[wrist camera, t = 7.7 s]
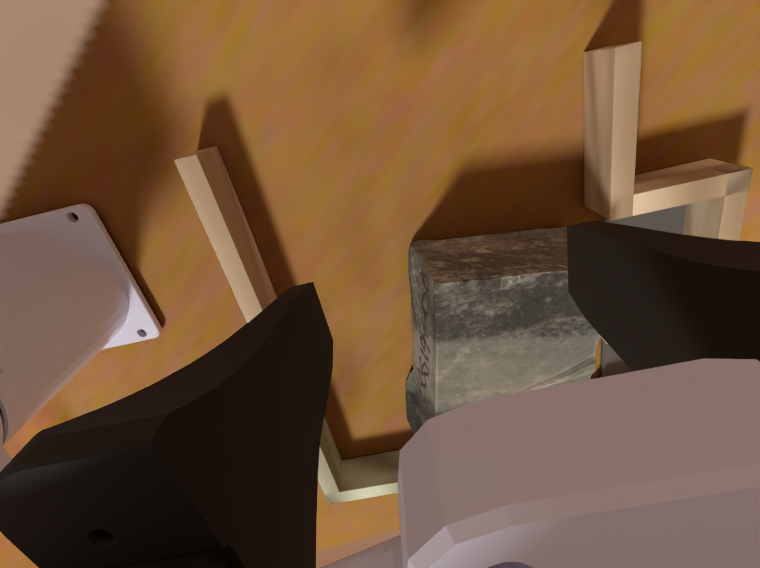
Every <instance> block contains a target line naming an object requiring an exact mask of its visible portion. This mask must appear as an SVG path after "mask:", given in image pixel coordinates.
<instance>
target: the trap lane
mask: <svg viewBox="0 0 760 568" xmlns="http://www.w3.org/2000/svg"><path fill="white" fill-rule="evenodd" d="M641 51H642V41H638V42H632V43H625V44H618V45H612V46H606V47H602V48H598V49H594V50H590V51H586V52H584V206H586V207H587V208H589V209H591V210H592V211H594V212H596V213H597V214H599V215H601V216H603V217H604V218H606V219H608V220H609V221H612V220H616V219H621V218H626V217H630V216H635V215H639V214H644V213H649V212H653V211H658V210H662V209H667V208H671V207H676V206H681V205H685V204H686V212H685V220H684V229H683V234H684V235H691V236H699V237H707V238H715V239H725V240H736V241H739V240H740V235H741V229H742V224H743V219H744V213H745V208H746V202H747V197H748V191H749V186H750V181H751V175H752V170H753V168H750V167H745V166H741V165H736V164H732V163H728V162H723V161H719V160H715V159H710V158H709V159H704V160H700V161H695V162H691V163H687V164H682V165H678V166H673V167H669V168H665V169H660V170H656V171H651V172H647V173H642V174H638V175H635V162H636V143H637V125H638V106H639V88H640V70H641ZM174 161H175V164H176V166H177V168H178V170H179V173H180V175H181V177H182V179H183V181H184V184H185V186H186V188H187V190H188V193H189V195H190V197H191V199H192V201H193V204H194V206H195V208H196V210H197V213H198V215H199V217H200V219H201V221H202V224H203V226H204V228H205V230H206V232H207V235H208V237H209V239H210V241H211V244H212V246H213V248H214V250H215V252H216V255H217V257H218V259H219V261H220V264H221V266H222V268H223V270H224V272H225V275H226V277H227V279H228V281H229V283H230V286H231V288H232V290H233V292H234V295H235V297H236V299H237V301H238V303H239V306H240V308H241V310H242V312H243V315H244V317H245V319H246V321H247V323H248V322H250V321H251V320H252V319H253V318H254V317H256V316H257V315H258V314H259V313H260V312H261V311H263V310H264V309H265V308H266V307H267V306H268V305H270V304H271V303H272V302H273V301H274V300H275V299H276V298H277V296H276V293H275V291H274V288H273V286H272V283H271V281H270V278H269V276H268V273H267V270H266V268H265V265H264V263H263V260H262V258H261V255H260V253H259V250H258V248H257V245H256V243H255V240H254V238H253V235H252V233H251V230H250V228H249V225H248V223H247V220H246V218H245V215H244V213H243V210H242V208H241V205H240V203H239V200H238V198H237V195H236V193H235V190H234V187H233V185H232V182H231V180H230V177H229V175H228V172H227V170H226V167H225V165H224V162H223V160H222V157H221V155H220V152H219V150H218V147H217V146H214V147H210V148H206V149H202V150H198V151H195V152H193V153H190V154H188V155H185V156H183V157H180V158H178V159H175V160H174ZM599 336H600V335H599ZM600 337H601V336H600ZM601 338H602V337H601ZM602 339H603V338H602ZM603 341H604V342H605V343H606V344H608V343H607V342H606V341H605V340H604V339H603ZM399 457H400V450H397V451H392V452H386V453H380V454H375V455H369V456H363V457H358V458H352V459H346V460H342V459H341V457H340V454H339V452H338V449H337V447H336V444H335V442H334V439H333V436H332V434H331V431H330V429H329V426H328V424H327V421H326V419H325V416H324V421H323V427H322V433H321V441H320V449H319V466H318V481H319V483H320V485H321V488H322V490H323V492H324V494H325V496H326V499H327V501H328V503H329V504H333V503H339V502H345V501H351V500H357V499H363V498H369V497H375V496H381V495H387V494H393V493H398V483H397V482H398V470H399Z"/></svg>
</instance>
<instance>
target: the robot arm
mask: <svg viewBox="0 0 760 568" xmlns="http://www.w3.org/2000/svg"><path fill="white" fill-rule="evenodd" d="M72 212H73V213H75V214H76V215H77V216H78V220H77V219H75V218H74V217H73V215H72ZM567 255H568V292H569V293H570V295H571V297H572V298H573V300H574V302H575V303H576V305H577V306H578V308H579V310H580V311H581V313H582V314H583V316H584V317H585V318H586V320H587V321H588V322H589V323H590V324H591V325H592V327H593V328H594V329H595V330H596V331H597V332H598V333H599V335H600V336H601V337H602V338H603V339H604V340H605V341H606V342H607V343H608V345H609V346H610V347H611V348H612V349H613V350H614V351H615V352H616V353H617V355H618V356H619V357H620V358H621V359H622V360H623V361H624V362H625V364H626V365H627V366H628V367H629V368H630V369H631V370H632V371H633V372H628V373H623V374H617V375H612V376H607V377H601V378H596V379H590V380H585V381H580V382H574V383H569V384H564V385H558V386H553V387H547V388H542V389H537V390H531V391H526V392H521V393H515V394H510V395H504V396H499V397H494V398H488V399H483V400H477V401H473V402H471V403H468V404H466V405H463V406H461V407H458V408H456V409H453V410H451V411H448V412H446V413H443V414H441V415H438V416H436V417H433V418H431V419H428V420H427V421H426V422H425V423H424V424H423V426H422V427H421V428H420V429H419V430H418V431H417V432H416V433H415V434H414V435H413V437H412V438H411V439H410V440H409V441H408V442H407V443H406V444H405V445H404V447H403V448H402V449H401V450H400V457H399V470H398V482H397V483H398V499H399V515H400V531H401V535H399V536H396V537H394V538H392V539H389V540H387V541H385V542H382V543H379V544H377V545H375V546H372V547H370V548H367V549H365V550H362V551H360V552H358V553H355V554H353V555H350V556H348V557H345V558H343V559H341V560H338V561H336V562H334V563H331V564H329V565H326V566H324V567H321V568H760V242H751V241H736V240H725V239H715V238H707V237H699V236H691V235H684V234H677V233H670V232H664V231H658V230H652V229H646V228H641V227H635V226H629V225H623V224H616V223H609V222H599V221H589V222H585V223H580V224H575V225H571V226H567ZM141 329H142V330H145V332H146V333H144V332H142V331H141ZM161 332H162V328H161V325H160V324H159V322H158V320H157V318H156V317H155V315H154V313H153V311H152V310H151V308H150V306H149V304H148V303H147V301H146V299H145V297H144V295H143V294H142V292H141V290H140V288H139V287H138V285H137V283H136V281H135V280H134V278H133V276H132V274H131V273H130V271H129V269H128V267H127V266H126V264H125V262H124V260H123V259H122V257H121V255H120V253H119V251H118V250H117V248H116V246H115V244H114V243H113V241H112V239H111V237H110V236H109V234H108V232H107V230H106V229H105V227H104V225H103V223H102V222H101V220H100V218H99V216H98V215H97V213H96V211H95V210H94V208H93V207H91V206H90V205H88V204H85V203H82V204H77V205H73V206H69V207H65V208H61V209H57V210H53V211H49V212H45V213H41V214H37V215H33V216H29V217H25V218H21V219H17V220H13V221H9V222H5V223H1V224H0V531H1V532H2V533H3V535H4V536H5V537H6V538H7V539H9V540H10V541H11V542H12V543H13V544H14V545H15V546H16V547H17V548H18V549H19V550H20V551H21V552H23V553H24V554H25V555H26V556H27V557H28V558H29V559H30V560H31V561H32V562H33V563H34V564H36V565H37V566H38V567H39V568H316V514H317V485H318V466H319V449H320V441H321V433H322V427H323V421H324V415H325V410H326V404H327V398H328V392H329V387H330V380H331V374H332V367H333V339H332V336H331V333H330V330H329V327H328V324H327V321H326V318H325V315H324V313H323V310H322V307H321V304H320V301H319V298H318V295H317V292H316V289H315V286H314V284H313V282H311V283H306V284H302V285H297V286H293V287H291V288H289V289H288V290H286V291H285V292H284V293H283V294H281V295H280V296H279V297H278V298H276V299H275V300H274V301H273V302H272V303H271V304H270V305H268V306H267V307H266V308H265V309H264V310H263V311H261V312H260V313H259V314H258V315H257V316H256V317H254V318H253V319H252V320H251V321H250V322H248V323H247V324H246V325H244V326H243V327H242V328H241V329H239V330H238V331H237V332H236V333H234V334H233V335H232V336H231V337H229V338H228V339H227V340H225V341H224V342H223V343H221V344H220V345H218V346H217V347H215V348H214V349H213V350H211V351H209V352H208V353H206V354H205V355H203V356H202V357H200V358H199V359H197V360H195V361H194V362H192V363H191V364H189V365H187V366H185V367H183V368H182V369H180V370H178V371H176V372H174V373H173V374H171V375H169V376H167V377H165V378H164V379H162V380H160V381H158V382H156V383H154V384H152V385H150V386H148V387H146V388H144V389H142V390H140V391H138V392H136V393H134V394H131V395H129V396H127V397H125V398H123V399H120V400H118V401H116V402H114V403H111V404H109V405H107V406H104V407H102V408H100V409H97V410H94V411H92V412H89V413H87V414H84V415H81V416H79V417H76V418H74V419H71V420H68V421H66V422H63V423H61V424H58V425H55V426H53V427H50V428H47V429H44V430H42V431H40V432H39V433H38V434H36V435H35V436H34V437H33V438H32V439H31V440H30V441H29V442H28V443H27V444H26V445H25V446H24V447H23V449H22V450H21V451H20V452H19V453H18V454H17V455H16V456H15V457H14V458H13V459H12V458H11V457H10V456H9V455H8V454H7V452H6V450H5V448H4V445H5V444H6V443H7V442H8V441H9V440H10V439H11V438H12V437H13V436H14V435H15V434H16V433H17V432H18V431H19V430H20V429H21V428H22V427H23V426H24V425H25V424H26V423H27V422H28V421H29V420H30V419H31V418H32V417H33V416H34V415H35V414H36V413H37V412H38V411H39V410H40V409H41V408H42V407H44V406H45V405H46V404H47V403H48V402H49V401H50V400H51V399H52V398H53V397H54V396H55V395H56V394H57V393H58V392H59V391H60V390H61V389H62V388H63V387H64V386H65V385H66V384H67V383H68V382H69V381H70V380H71V379H72V378H73V377H74V376H75V375H76V374H77V373H78V372H79V371H80V370H81V369H82V368H83V367H84V366H85V365H86V364H87V363H88V362H89V361H90V360H91V359H92V358H93V357H94V356H95V355H96V354H97V353H98V352H99V351H100V350H101V349H106V348H111V347H115V346H120V345H125V344H129V343H134V342H139V341H143V340H148V339H153V338H156V337H158V336H159V334H160V333H161Z"/></svg>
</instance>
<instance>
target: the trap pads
mask: <svg viewBox="0 0 760 568" xmlns="http://www.w3.org/2000/svg"><path fill="white" fill-rule="evenodd" d="M685 212H686V204H685V205H681V206H676V207H671V208H667V209H662V210H658V211H653V212H649V213H644V214H639V215H635V216H630V217H626V218H621V219H616V220H612V221H609V220H608V219H606V218H604V222H609V223H616V224H623V225H629V226H635V227H641V228H646V229H652V230H658V231H664V232H670V233H677V234H683V229H684V220H685ZM628 372H633V371H632V370H631V369H630V368H629V367H628V366H627V365H626V364H625V362H624V361H623V360H622V359H621V358H620V357H619V356H618V355H617V353H616V352H615V351H614V350H613V349H612V348H611V347H610V346H609V345H608V344H606V343H605V342H604V341H603V339H602V338H601V377H607V376H612V375H617V374H623V373H628Z"/></svg>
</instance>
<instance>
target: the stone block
mask: <svg viewBox="0 0 760 568" xmlns="http://www.w3.org/2000/svg"><path fill="white" fill-rule="evenodd" d="M408 263H409V271H408V272H409V280H410V289H411V305H412V324H413V333H414V348H413V370H412V371H411V372H410V373H409V376H408V379H407V381H406V410H407V420H408V422H409V424H410V426H411V428H412V431H413V433H414V434H415V433H416V432H417V431H418V430H419V429H420V428H421V427H422V426H423V424H424V423H425V422H426V421H427V420H428V419H431V418H433V417H436V416H438V415H441V414H443V413H446V412H448V411H451V410H453V409H456V408H458V407H461V406H463V405H466V404H468V403H471V402H473V401H477V400H483V399H488V398H494V397H499V396H504V395H510V394H515V393H521V392H526V391H531V390H537V389H542V388H547V387H553V386H558V385H564V384H569V383H574V382H580V381H585V380H590V379H591V373H594V372H595V370H596V360H595V356H594V355H595V351H596V347H597V343H598V338H599V333H598V332H597V331H596V330H595V329H594V328H593V327H592V325H591V324H590V323H589V322H588V321H587V320H586V318H585V317H584V316H583V314H582V313H581V311H580V310H579V308H578V306H577V305H576V303H575V302H574V300H573V298H572V297H571V295H570V293H569V292H568V255H567V227H565V226H560V227H552V228H541V229H534V230H524V231H514V232H504V233H495V234H486V235H476V236H468V237H460V238H452V239H444V240H426V239H424V240H417V241H414V242H413V243H412V244H411V247H410V249H409V260H408Z"/></svg>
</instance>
